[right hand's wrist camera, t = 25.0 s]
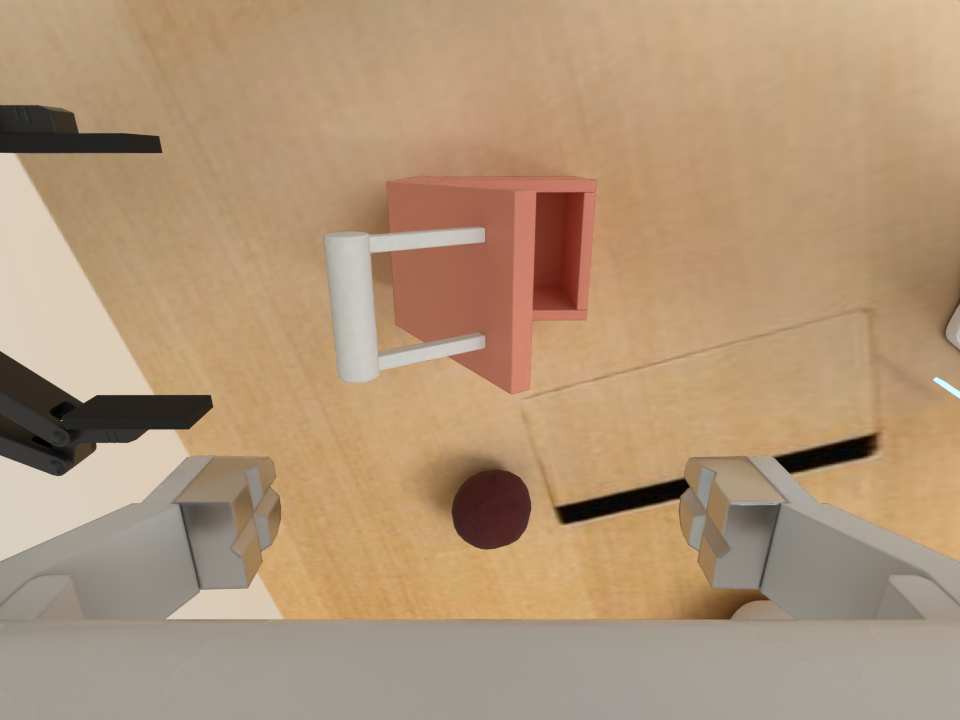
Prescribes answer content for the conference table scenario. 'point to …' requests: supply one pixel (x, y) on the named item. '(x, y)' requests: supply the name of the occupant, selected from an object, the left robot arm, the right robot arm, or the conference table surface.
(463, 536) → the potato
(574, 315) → the chest
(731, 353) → the conference table surface
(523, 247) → the pink board with handle
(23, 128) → the left robot arm
